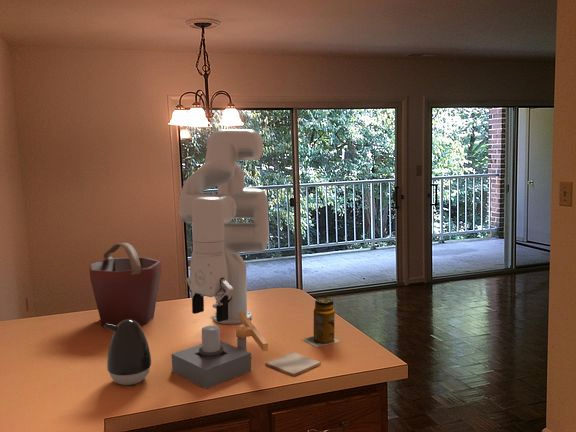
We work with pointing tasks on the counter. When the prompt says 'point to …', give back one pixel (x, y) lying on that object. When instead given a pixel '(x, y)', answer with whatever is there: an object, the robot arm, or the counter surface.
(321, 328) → the condiment
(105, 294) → the bucket
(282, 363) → the pad
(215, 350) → the plug
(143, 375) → the pump dispenser
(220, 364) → the socket block
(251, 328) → the knobbed wooden stick
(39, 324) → the counter surface
